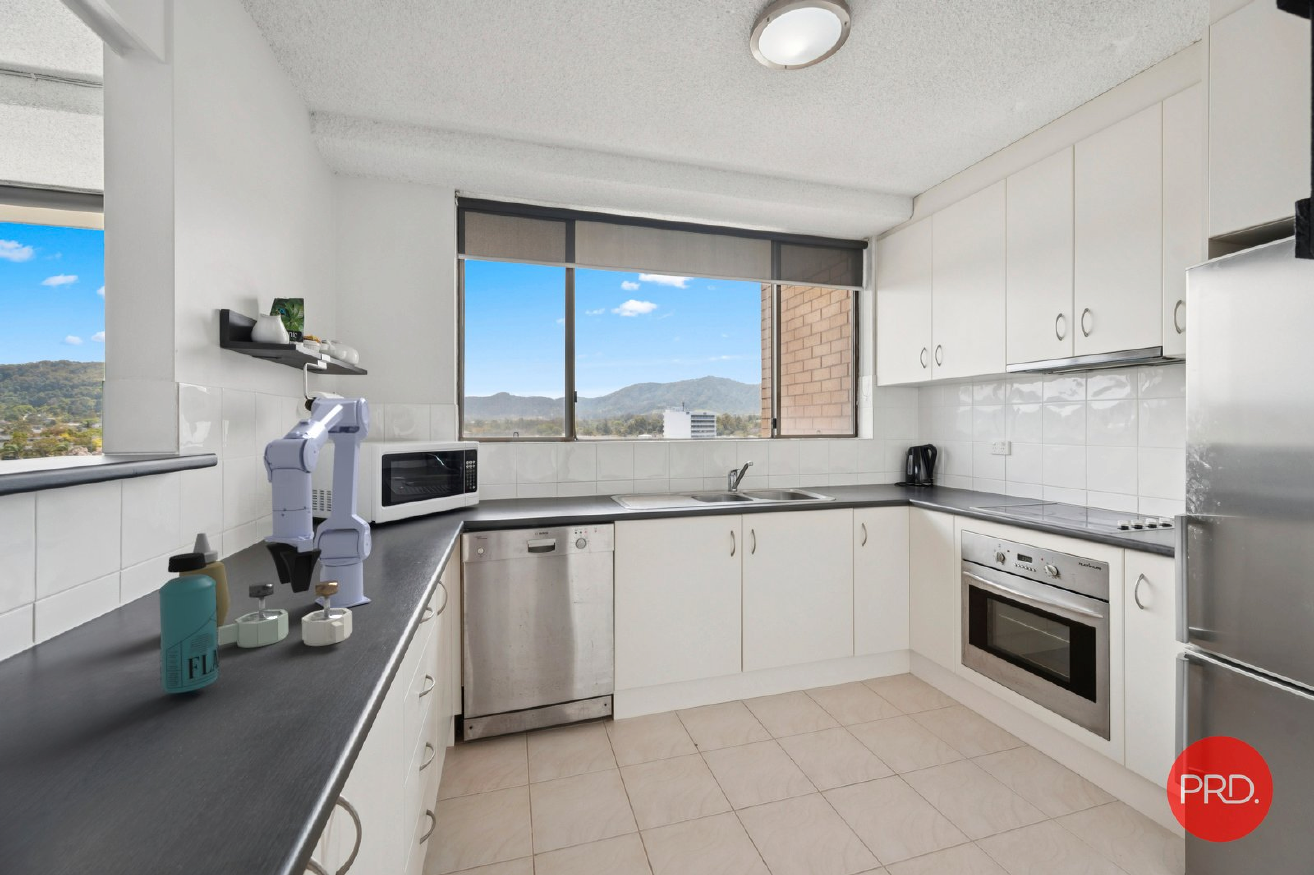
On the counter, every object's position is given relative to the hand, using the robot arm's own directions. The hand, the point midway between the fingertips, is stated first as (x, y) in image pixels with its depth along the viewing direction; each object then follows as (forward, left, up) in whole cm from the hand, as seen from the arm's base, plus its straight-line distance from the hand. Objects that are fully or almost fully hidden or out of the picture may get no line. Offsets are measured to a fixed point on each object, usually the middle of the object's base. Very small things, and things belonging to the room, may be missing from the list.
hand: (294, 587), depth 95 cm
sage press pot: (-8, -4, -10) cm, 14 cm away
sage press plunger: (-8, -3, -7) cm, 11 cm away
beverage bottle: (+8, -15, -11) cm, 20 cm away
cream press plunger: (0, +5, -7) cm, 9 cm away
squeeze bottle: (-23, -9, -11) cm, 27 cm away
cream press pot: (+1, +5, -10) cm, 12 cm away
